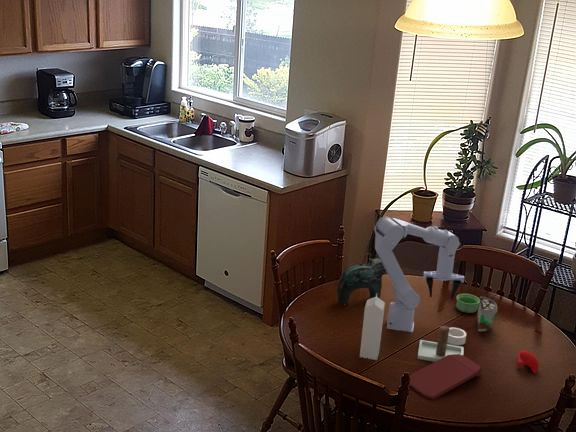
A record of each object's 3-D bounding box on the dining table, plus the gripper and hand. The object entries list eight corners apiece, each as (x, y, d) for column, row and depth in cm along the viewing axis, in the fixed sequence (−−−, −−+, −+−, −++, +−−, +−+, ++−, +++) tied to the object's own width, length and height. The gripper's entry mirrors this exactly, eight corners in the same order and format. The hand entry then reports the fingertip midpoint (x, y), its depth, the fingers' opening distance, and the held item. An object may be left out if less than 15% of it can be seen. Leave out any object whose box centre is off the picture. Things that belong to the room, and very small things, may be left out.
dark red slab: (429, 410, 217) (485, 378, 230) (429, 398, 215) (486, 366, 228) (402, 391, 227) (457, 361, 239) (402, 378, 225) (458, 349, 237)
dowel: (435, 355, 240) (439, 329, 237) (436, 350, 243) (440, 325, 240) (444, 357, 239) (448, 331, 236) (445, 352, 242) (449, 326, 239)
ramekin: (481, 307, 278) (482, 297, 277) (474, 316, 271) (475, 306, 270) (459, 301, 283) (460, 291, 281) (451, 309, 275) (453, 299, 274)
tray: (417, 359, 238) (417, 355, 237) (419, 344, 248) (420, 339, 247) (462, 367, 235) (463, 363, 234) (462, 351, 245) (463, 347, 244)
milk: (359, 357, 237) (365, 298, 230) (362, 348, 243) (367, 290, 235) (377, 360, 236) (383, 301, 229) (379, 351, 242) (386, 293, 234)
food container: (495, 337, 256) (499, 312, 253) (477, 334, 257) (482, 310, 254) (492, 321, 268) (497, 297, 264) (476, 319, 269) (480, 295, 265)
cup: (444, 344, 249) (445, 335, 248) (444, 334, 256) (446, 326, 254) (464, 347, 247) (466, 339, 246) (464, 338, 254) (466, 329, 253)
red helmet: (510, 358, 236) (525, 357, 231) (518, 347, 239) (533, 346, 235) (522, 377, 237) (537, 376, 232) (530, 366, 241) (544, 365, 236)
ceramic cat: (377, 294, 284) (382, 248, 277) (386, 301, 278) (391, 255, 272) (334, 301, 276) (338, 254, 269) (341, 308, 270) (346, 260, 264)
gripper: (425, 265, 254) (421, 299, 258) (466, 270, 252) (461, 304, 256) (425, 258, 260) (421, 291, 265) (465, 262, 258) (460, 295, 263)
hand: (441, 297), depth 261 cm, fingers open, 7 cm apart
